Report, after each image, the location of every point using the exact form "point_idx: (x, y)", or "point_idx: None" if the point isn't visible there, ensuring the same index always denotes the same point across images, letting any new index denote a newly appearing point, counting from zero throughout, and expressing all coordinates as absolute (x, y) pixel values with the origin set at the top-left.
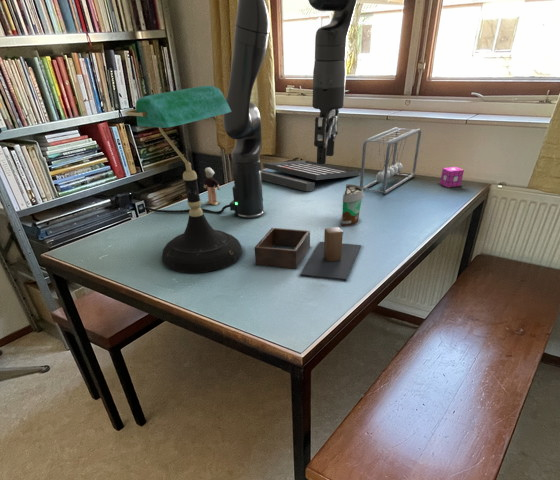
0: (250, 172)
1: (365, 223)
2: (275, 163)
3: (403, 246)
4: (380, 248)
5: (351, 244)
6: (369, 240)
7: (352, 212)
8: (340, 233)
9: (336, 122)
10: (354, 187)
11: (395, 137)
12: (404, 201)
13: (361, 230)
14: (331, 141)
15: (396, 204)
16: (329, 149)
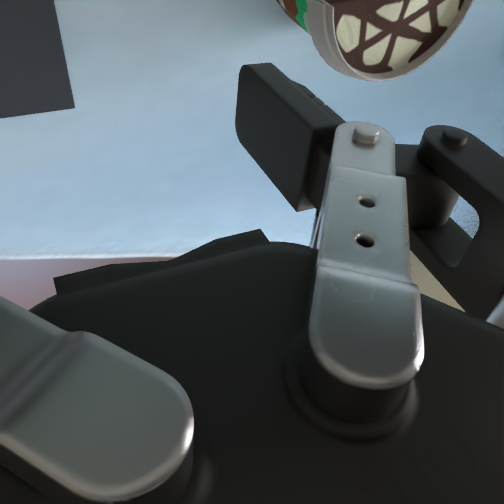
0: None
1: (302, 56)
2: None
3: (130, 223)
4: (87, 171)
5: (65, 71)
6: (146, 117)
7: (303, 25)
8: None
9: (468, 303)
10: (448, 21)
11: None
12: (471, 122)
13: (234, 61)
14: (295, 183)
15: (453, 107)
16: (260, 127)
